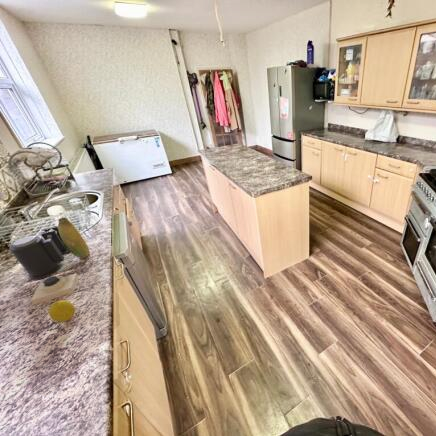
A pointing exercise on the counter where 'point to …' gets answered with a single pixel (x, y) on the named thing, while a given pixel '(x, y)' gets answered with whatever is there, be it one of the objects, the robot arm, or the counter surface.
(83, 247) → the vegetable
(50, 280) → the power button
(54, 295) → the socket block
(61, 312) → the lemon
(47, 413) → the counter surface
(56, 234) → the black handle
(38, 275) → the kettle
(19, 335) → the counter surface
